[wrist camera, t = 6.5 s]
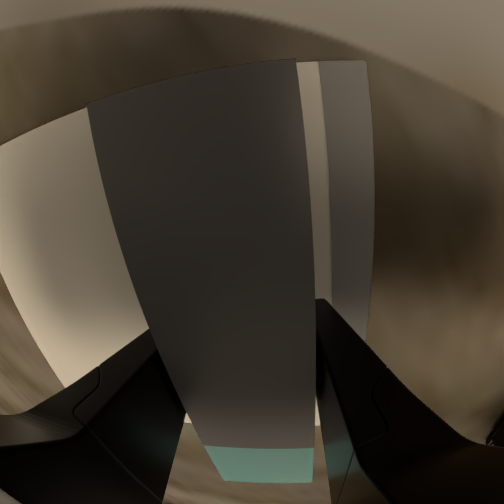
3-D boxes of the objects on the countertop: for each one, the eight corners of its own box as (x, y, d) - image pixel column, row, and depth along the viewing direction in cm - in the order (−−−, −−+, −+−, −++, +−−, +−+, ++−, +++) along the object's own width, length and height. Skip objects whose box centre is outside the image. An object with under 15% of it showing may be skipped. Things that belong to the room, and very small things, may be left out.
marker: (292, 78, 7) (295, 58, 4) (311, 407, 12) (311, 482, 9) (166, 97, 7) (86, 103, 4) (236, 408, 12) (223, 480, 9)
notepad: (357, 64, 7) (365, 60, 6) (349, 406, 13) (351, 423, 12) (-18, 158, 10) (-35, 165, 9) (83, 391, 16) (76, 403, 15)
